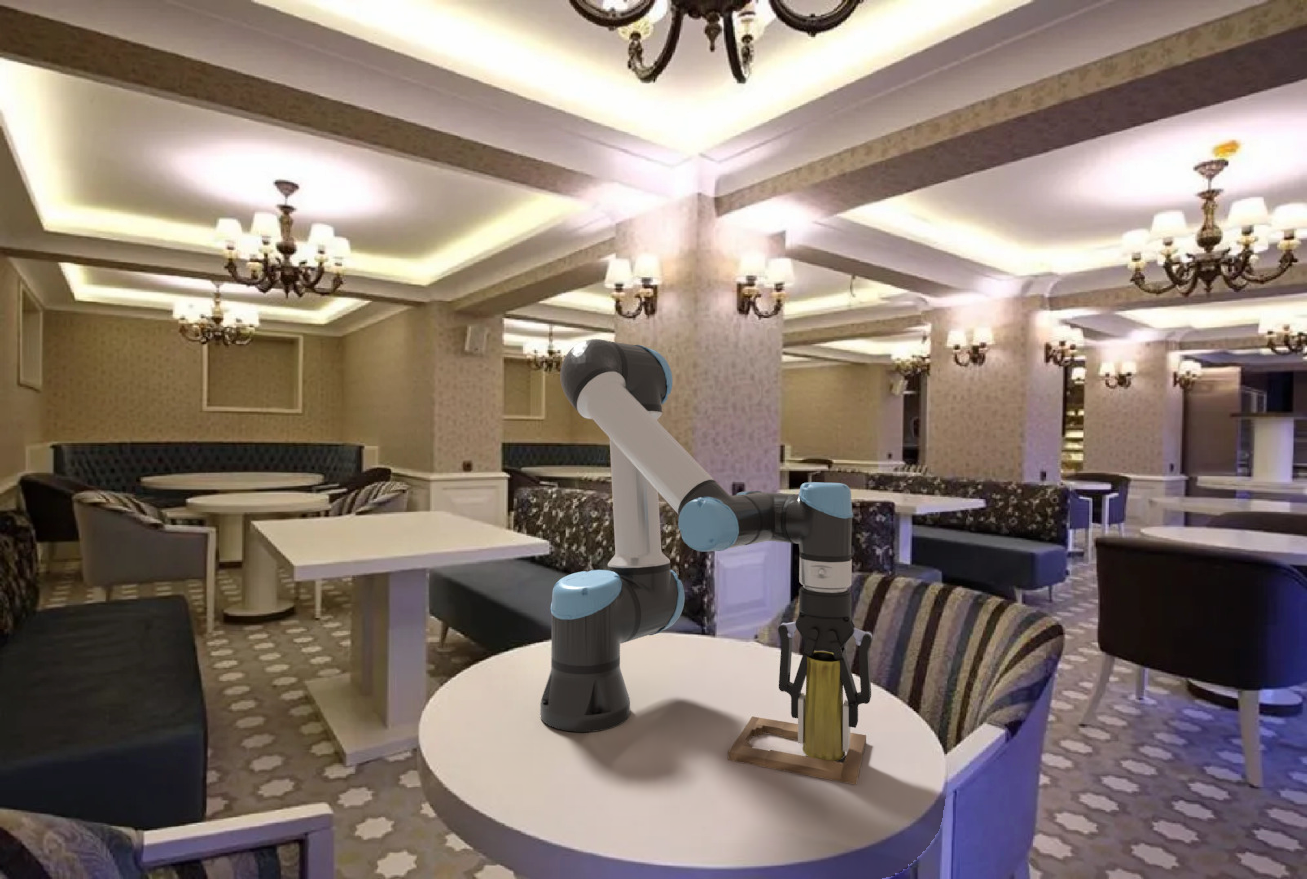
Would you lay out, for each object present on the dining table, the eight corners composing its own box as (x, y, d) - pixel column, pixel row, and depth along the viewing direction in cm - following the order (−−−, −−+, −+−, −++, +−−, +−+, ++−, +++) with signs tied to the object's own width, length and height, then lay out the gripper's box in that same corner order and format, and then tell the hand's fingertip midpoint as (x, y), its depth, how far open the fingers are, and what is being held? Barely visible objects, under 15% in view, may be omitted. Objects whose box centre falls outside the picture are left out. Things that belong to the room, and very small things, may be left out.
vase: (846, 764, 97) (847, 664, 97) (802, 759, 98) (803, 661, 98) (843, 745, 103) (844, 651, 103) (802, 741, 104) (802, 648, 104)
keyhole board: (728, 759, 99) (728, 751, 99) (752, 723, 112) (752, 716, 112) (856, 784, 92) (856, 775, 92) (866, 742, 105) (866, 735, 105)
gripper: (756, 586, 101) (755, 742, 101) (890, 598, 94) (889, 766, 94) (768, 577, 108) (767, 723, 108) (893, 587, 101) (892, 744, 100)
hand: (823, 743), depth 101 cm, fingers closed on vase, 6 cm apart
